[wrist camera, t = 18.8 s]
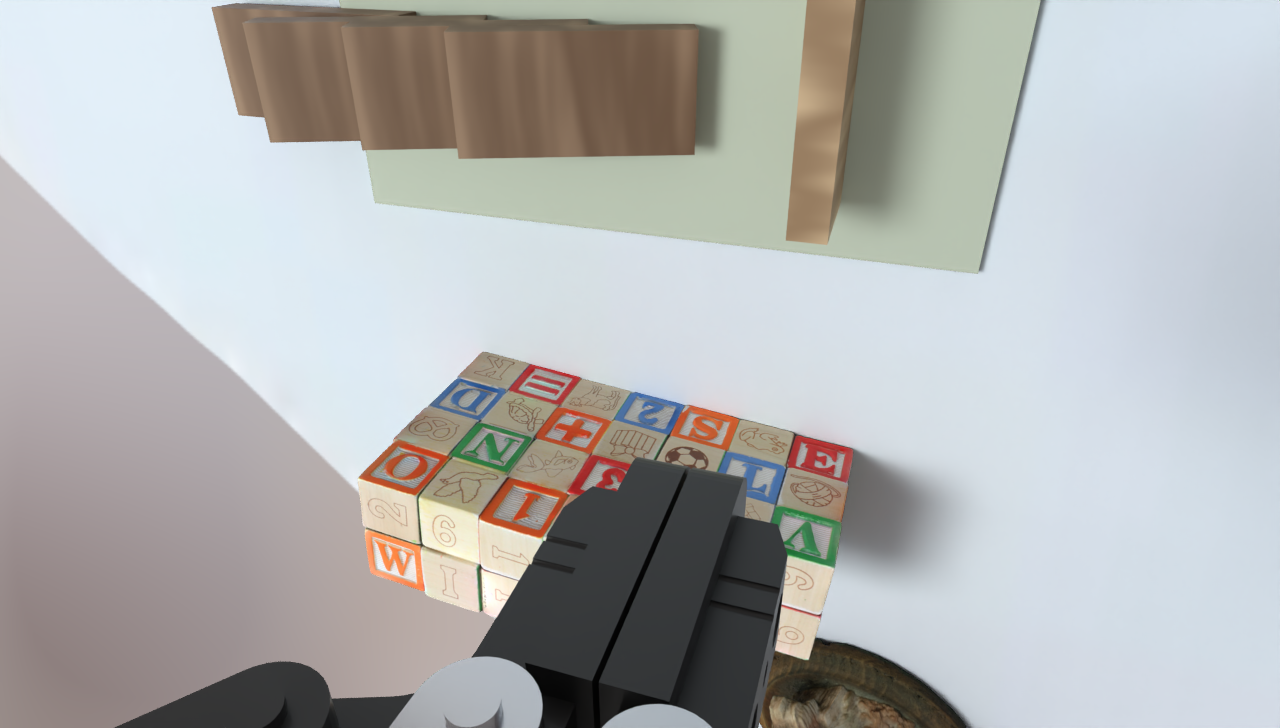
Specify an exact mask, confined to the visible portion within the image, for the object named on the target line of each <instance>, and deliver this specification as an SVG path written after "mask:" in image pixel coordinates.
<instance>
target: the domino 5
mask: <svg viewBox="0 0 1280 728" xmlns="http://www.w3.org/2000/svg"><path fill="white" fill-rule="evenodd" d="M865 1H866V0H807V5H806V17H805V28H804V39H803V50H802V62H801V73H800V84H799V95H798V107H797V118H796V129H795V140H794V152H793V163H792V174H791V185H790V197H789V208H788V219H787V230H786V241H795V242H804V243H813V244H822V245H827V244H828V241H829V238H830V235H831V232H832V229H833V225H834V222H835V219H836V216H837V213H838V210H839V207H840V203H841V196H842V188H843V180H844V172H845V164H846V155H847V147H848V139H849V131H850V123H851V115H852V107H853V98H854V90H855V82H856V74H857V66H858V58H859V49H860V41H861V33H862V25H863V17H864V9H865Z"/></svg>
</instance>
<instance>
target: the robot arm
mask: <svg viewBox="0 0 1280 728" xmlns="http://www.w3.org/2000/svg"><path fill="white" fill-rule="evenodd" d="M746 495H747V478H745V477H740V476H735V475H730V474H725V473H720V472H715V471H709V470H704V469H699V468H692V469H690V467H688V466H682V465H677V464H672V463H667V462H662V461H657V460H651V459H646V458H641V457H637V458H635V459H634V461H633V462H632V464H631V465H630V467H629V469H628V471H627V473H626V475H625V477H624V479H623V480H622V482H621V484H620V486H619V488H618V490H617V491H614V490H609V489H604V488H599V487H594V486H592V487H591V488H589V489H588V490H587V491H585V492H584V493H582V494H581V495H580V496H578V497H577V498H576V499H574V500H573V501H571V502H570V503H569V504H567V505H566V506H565V507H563V509H562V511H561V512H560V514H559V516H558V517H557V519H556V521H555V522H554V524H553V526H552V527H551V529H550V530H549V532H548V534H547V538H546V541H543V542H542V544H541V545H540V547H539V549H538V550H537V552H536V554H535V555H534V557H533V561H532V564H529V565H528V567H527V568H526V570H525V572H524V573H523V575H522V577H521V578H520V580H519V582H518V583H517V585H516V586H515V588H514V590H513V591H512V593H511V595H510V596H509V598H508V600H507V601H506V603H505V605H504V606H503V608H502V609H501V611H500V613H499V614H498V616H497V618H496V619H495V621H494V623H493V624H492V626H491V628H490V630H489V631H488V633H487V634H486V636H485V638H484V639H483V641H482V642H481V644H480V646H479V647H478V649H477V651H476V652H475V653H474V655H473V656H472V658H468V659H464V660H461V661H457V662H454V663H452V664H450V665H448V666H446V667H444V668H442V669H441V670H439V671H437V672H436V673H434V674H433V675H432V676H431V677H430V678H428V679H427V680H426V681H425V682H424V683H423V684H422V685H421V686H420V688H419V689H418V690H417V691H416V692H415V693H413V694H409V695H404V696H394V697H368V698H342V699H341V698H340V699H332V698H331V695H330V692H329V688H328V685H327V684H326V682H325V680H324V678H323V677H322V676H321V675H320V674H319V673H318V672H317V671H315V670H314V669H312V668H311V667H308V666H306V665H303V664H300V663H295V662H272V663H266V664H262V665H258V666H255V667H252V668H249V669H247V670H245V671H242V672H240V673H237V674H235V675H233V676H230V677H229V678H226V679H224V680H222V681H219V682H217V683H215V684H212V685H210V686H208V687H205V688H203V689H201V690H199V691H196V692H194V693H192V694H190V695H187V696H185V697H183V698H181V699H178V700H176V701H174V702H172V703H169V704H167V705H165V706H163V707H160V708H158V709H156V710H153V711H151V712H149V713H147V714H144V715H142V716H140V717H138V718H135V719H133V720H131V721H129V722H126V723H124V724H122V725H120V726H117V727H115V728H758V725H759V721H760V716H761V712H762V707H763V701H764V698H765V693H766V689H767V684H768V680H769V674H770V670H771V666H772V661H773V657H774V652H775V648H776V643H777V638H778V631H779V623H780V614H781V606H782V598H783V590H784V582H785V574H786V566H787V558H788V555H787V552H786V548H785V545H784V542H783V539H782V536H781V533H780V530H779V526H778V524H774V523H769V522H764V521H760V520H755V519H750V518H745V507H746Z"/></svg>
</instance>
